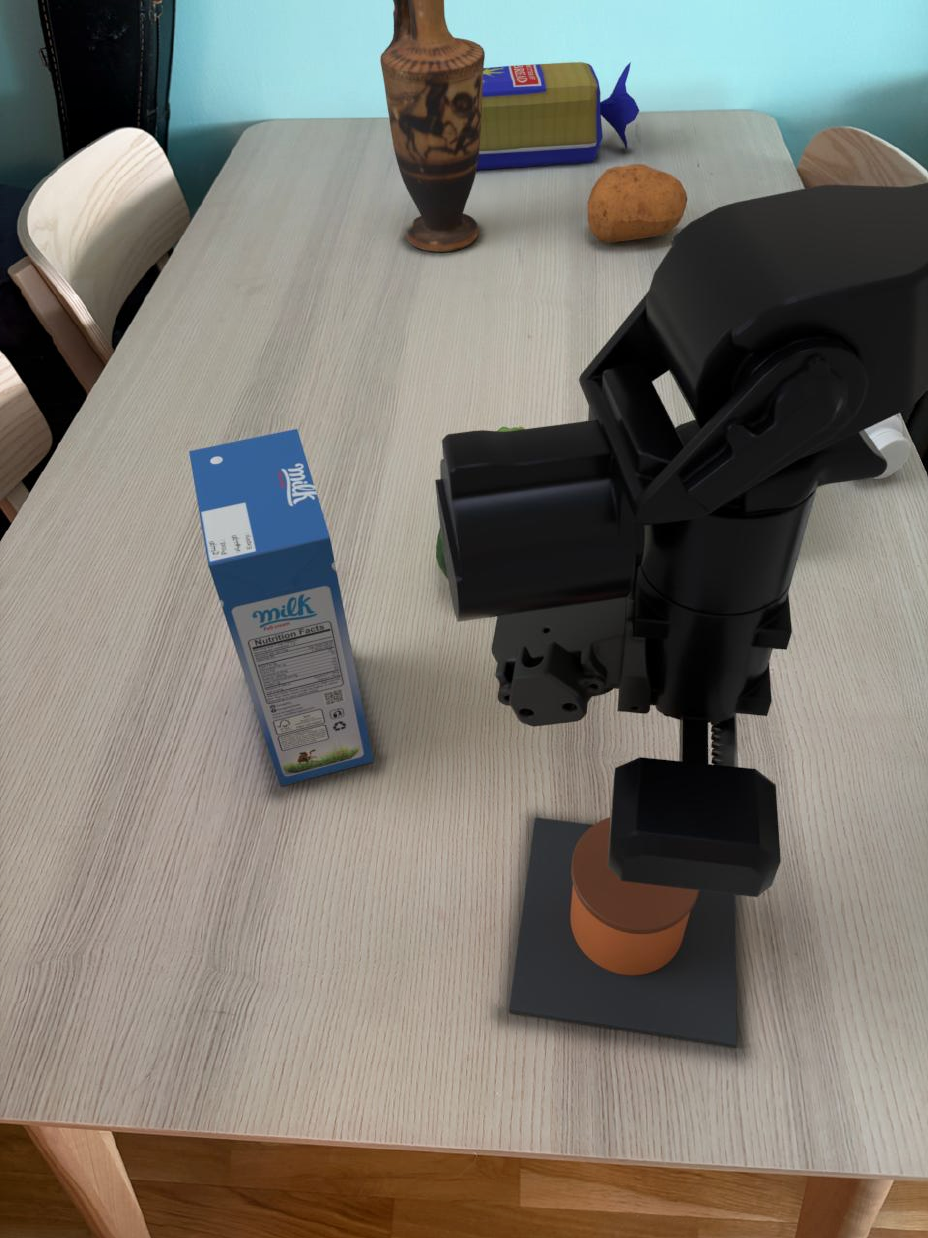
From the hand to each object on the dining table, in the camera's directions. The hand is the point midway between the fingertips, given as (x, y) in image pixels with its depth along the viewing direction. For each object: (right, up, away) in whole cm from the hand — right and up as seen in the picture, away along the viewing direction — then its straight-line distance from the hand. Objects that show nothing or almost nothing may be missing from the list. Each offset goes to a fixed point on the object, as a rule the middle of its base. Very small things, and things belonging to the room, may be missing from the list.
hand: (671, 788), depth 48 cm
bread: (-1, +70, +81) cm, 107 cm away
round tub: (-1, -9, +7) cm, 11 cm away
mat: (-1, -9, +7) cm, 12 cm away
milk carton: (-21, +2, +19) cm, 28 cm away
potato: (+10, +53, +65) cm, 84 cm away
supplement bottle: (+21, +28, +37) cm, 51 cm away
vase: (-13, +53, +67) cm, 86 cm away
